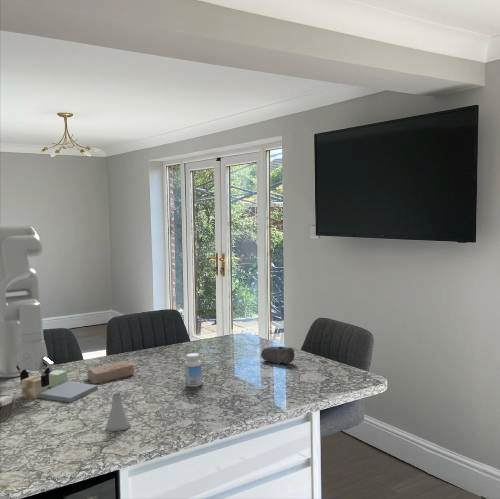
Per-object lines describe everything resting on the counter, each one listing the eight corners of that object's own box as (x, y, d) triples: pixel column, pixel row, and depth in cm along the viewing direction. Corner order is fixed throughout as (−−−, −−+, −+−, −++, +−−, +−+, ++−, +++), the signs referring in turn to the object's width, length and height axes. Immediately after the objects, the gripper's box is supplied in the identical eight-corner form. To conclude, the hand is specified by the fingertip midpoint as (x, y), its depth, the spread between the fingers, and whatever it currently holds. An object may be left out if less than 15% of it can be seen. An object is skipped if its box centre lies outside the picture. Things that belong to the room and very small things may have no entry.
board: (39, 397, 188) (39, 393, 188) (67, 385, 201) (67, 381, 201) (70, 402, 182) (70, 398, 182) (97, 389, 195) (97, 385, 195)
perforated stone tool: (258, 362, 225) (257, 345, 224) (264, 359, 229) (264, 343, 228) (289, 366, 216) (289, 350, 216) (295, 363, 221) (295, 347, 220)
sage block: (47, 386, 200) (46, 373, 200) (57, 382, 205) (56, 369, 204) (58, 388, 198) (57, 375, 198) (67, 384, 203) (66, 371, 202)
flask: (108, 423, 163) (106, 391, 162) (132, 421, 164) (130, 389, 163) (103, 432, 156) (102, 399, 155) (128, 431, 156) (127, 397, 156)
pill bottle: (205, 383, 199) (204, 353, 198) (196, 388, 193) (195, 357, 193) (191, 381, 201) (190, 351, 201) (182, 386, 196) (181, 356, 195)
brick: (94, 384, 202) (94, 372, 201) (86, 379, 208) (86, 367, 208) (135, 375, 212) (134, 364, 211) (126, 371, 218) (125, 359, 218)
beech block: (22, 396, 190) (21, 380, 189) (35, 391, 195) (34, 375, 195) (35, 398, 187) (34, 381, 187) (47, 393, 193) (47, 376, 193)
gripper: (5, 338, 190) (8, 386, 191) (42, 340, 183) (45, 390, 184) (22, 334, 197) (25, 380, 198) (58, 336, 190) (61, 383, 191)
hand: (35, 384), depth 191 cm, fingers open, 9 cm apart
